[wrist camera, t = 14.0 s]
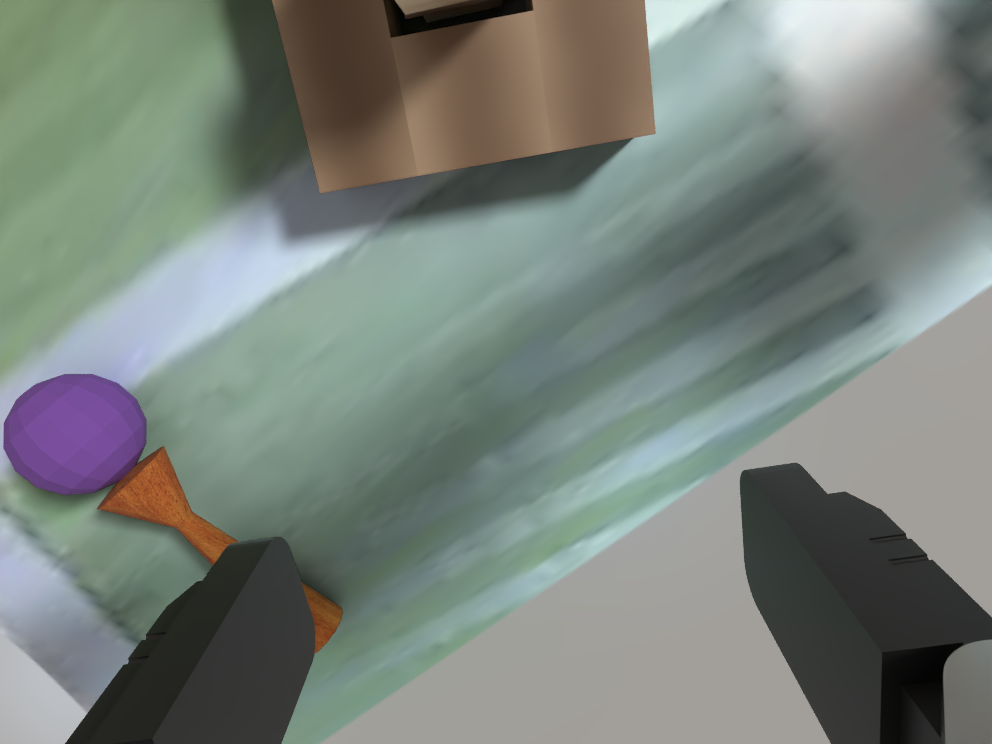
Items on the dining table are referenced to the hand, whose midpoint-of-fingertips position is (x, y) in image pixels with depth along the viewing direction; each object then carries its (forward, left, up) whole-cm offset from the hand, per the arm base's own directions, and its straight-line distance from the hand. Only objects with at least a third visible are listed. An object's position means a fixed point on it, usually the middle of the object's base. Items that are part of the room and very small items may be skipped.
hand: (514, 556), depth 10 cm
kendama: (+19, +10, -24) cm, 32 cm away
